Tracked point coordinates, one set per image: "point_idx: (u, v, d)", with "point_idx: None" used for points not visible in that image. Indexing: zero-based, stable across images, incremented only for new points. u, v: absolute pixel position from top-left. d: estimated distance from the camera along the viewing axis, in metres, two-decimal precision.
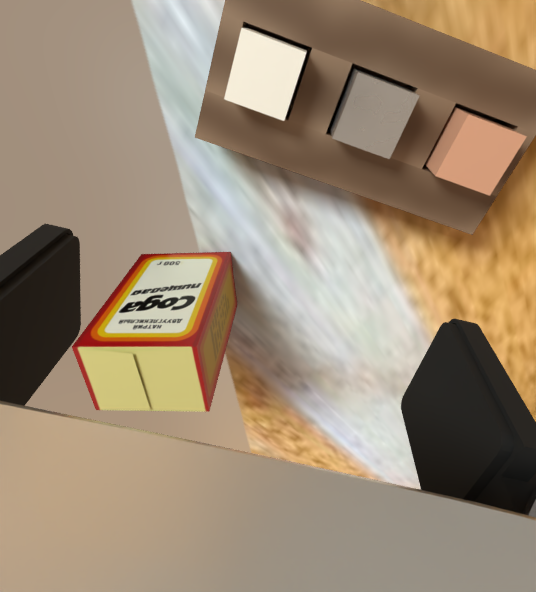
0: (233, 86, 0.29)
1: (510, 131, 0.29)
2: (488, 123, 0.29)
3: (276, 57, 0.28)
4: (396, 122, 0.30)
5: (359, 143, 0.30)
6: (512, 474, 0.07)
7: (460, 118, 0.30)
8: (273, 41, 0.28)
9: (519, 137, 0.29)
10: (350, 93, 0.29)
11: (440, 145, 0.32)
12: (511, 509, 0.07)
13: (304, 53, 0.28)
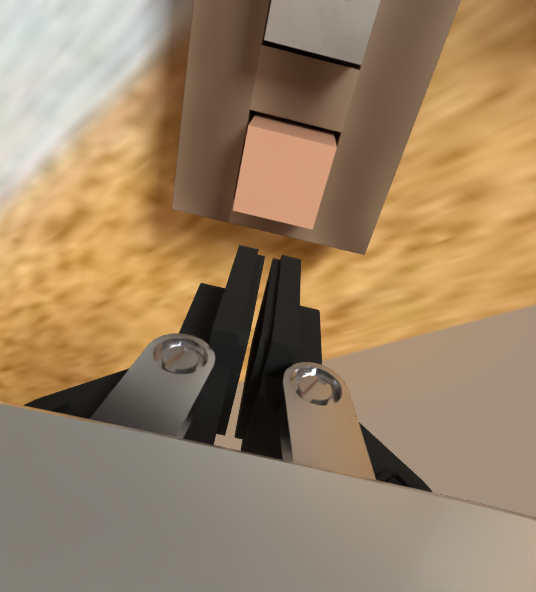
0: None
1: (317, 208, 0.23)
2: (326, 177, 0.22)
3: None
4: (321, 35, 0.19)
5: None
6: (271, 371, 0.08)
7: (326, 140, 0.22)
8: None
9: (310, 221, 0.23)
10: None
11: (286, 126, 0.23)
12: (259, 397, 0.08)
13: None
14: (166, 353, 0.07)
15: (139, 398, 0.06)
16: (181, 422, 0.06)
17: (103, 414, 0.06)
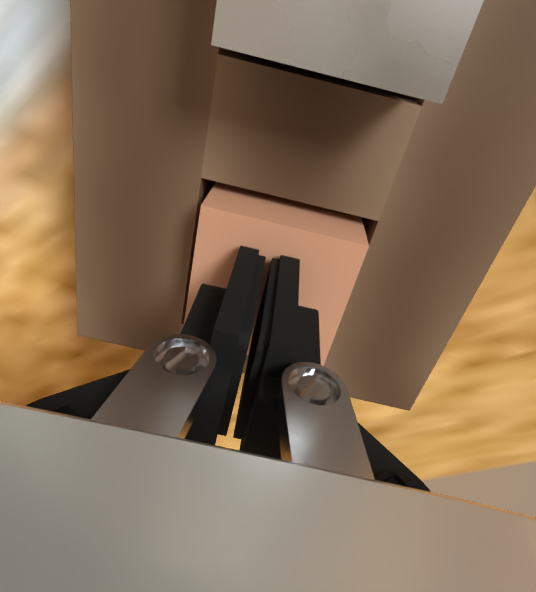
0: None
1: (330, 341, 0.13)
2: (346, 294, 0.12)
3: None
4: (349, 33, 0.08)
5: None
6: (270, 371, 0.08)
7: (348, 225, 0.12)
8: None
9: None
10: None
11: None
12: (257, 397, 0.08)
13: None
14: (167, 353, 0.07)
15: (140, 399, 0.06)
16: (183, 423, 0.06)
17: (104, 414, 0.06)
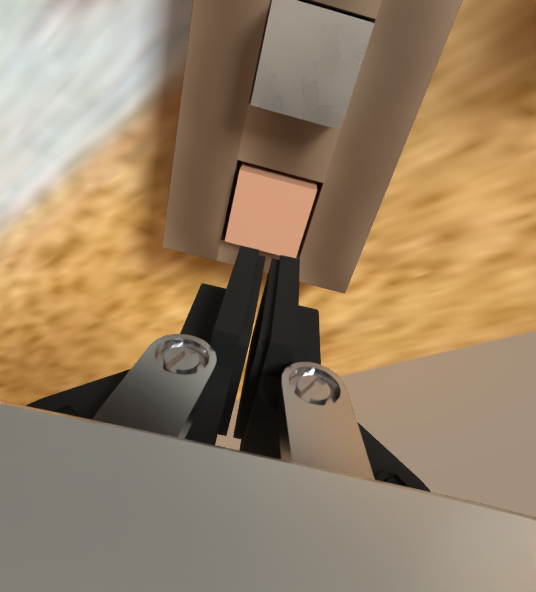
0: None
1: (299, 241, 0.25)
2: (307, 215, 0.25)
3: None
4: (303, 102, 0.20)
5: (269, 47, 0.19)
6: (269, 371, 0.08)
7: (309, 182, 0.25)
8: None
9: (293, 252, 0.26)
10: (343, 15, 0.18)
11: None
12: (257, 397, 0.08)
13: None
14: (168, 354, 0.07)
15: (140, 399, 0.06)
16: (183, 423, 0.06)
17: (104, 415, 0.06)
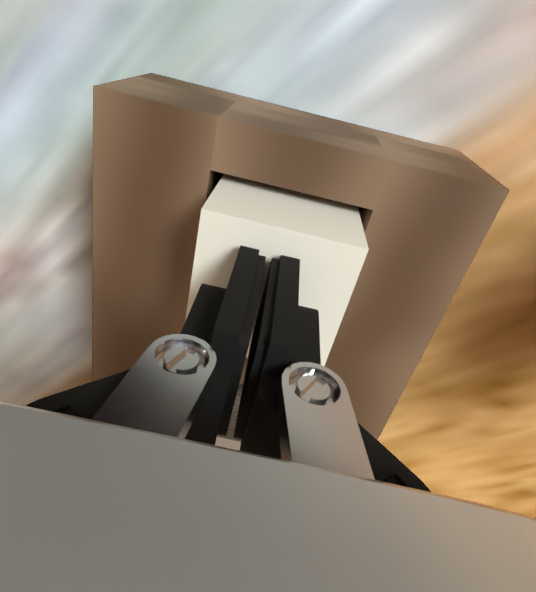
0: (236, 232, 0.11)
1: None
2: None
3: None
4: None
5: None
6: (270, 371, 0.08)
7: None
8: (340, 316, 0.12)
9: None
10: None
11: None
12: (257, 397, 0.08)
13: None
14: (168, 354, 0.07)
15: (140, 399, 0.06)
16: (183, 423, 0.06)
17: (104, 415, 0.06)
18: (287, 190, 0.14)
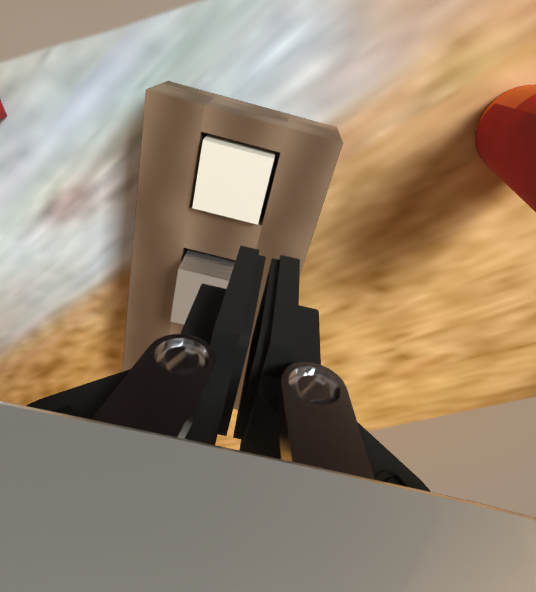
0: (217, 150, 0.26)
1: None
2: None
3: (250, 196, 0.27)
4: None
5: (179, 294, 0.29)
6: (270, 371, 0.08)
7: None
8: (264, 192, 0.27)
9: None
10: (223, 279, 0.29)
11: None
12: (257, 397, 0.08)
13: (256, 222, 0.28)
14: (168, 354, 0.07)
15: (140, 400, 0.06)
16: (183, 422, 0.06)
17: (104, 414, 0.06)
18: None
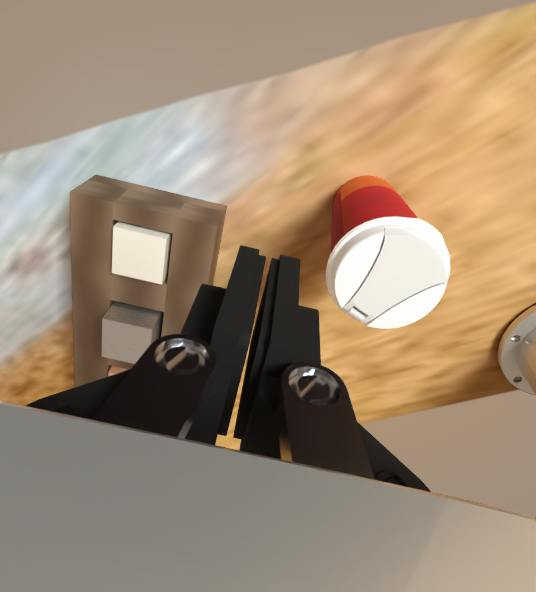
0: (124, 234, 0.35)
1: None
2: None
3: (153, 264, 0.36)
4: (127, 356, 0.40)
5: (105, 336, 0.39)
6: (270, 371, 0.08)
7: None
8: (163, 262, 0.36)
9: None
10: (137, 326, 0.38)
11: None
12: (257, 397, 0.08)
13: (161, 283, 0.37)
14: (168, 354, 0.07)
15: (140, 399, 0.06)
16: (183, 422, 0.06)
17: (105, 414, 0.06)
18: None
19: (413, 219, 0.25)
